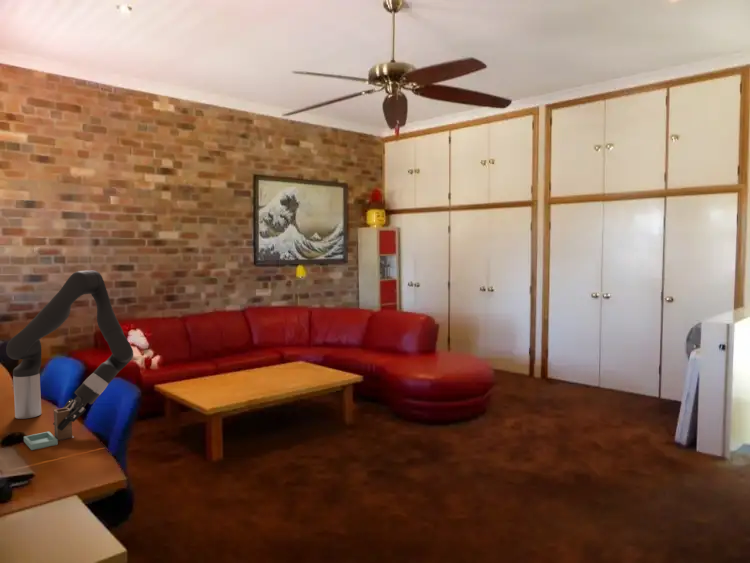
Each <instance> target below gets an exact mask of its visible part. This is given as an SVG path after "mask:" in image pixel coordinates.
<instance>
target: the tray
mask: <svg viewBox="0 0 750 563" xmlns="http://www.w3.org/2000/svg"><path fill="white" fill-rule="evenodd" d="M23 443H25V445H26V446H27V447H28V449H29V450H30V451H36V450H39V449H44V448H48V447H54V446H58V443H59V441H58V439H56V438H55V435H53V433H51V432H50V431H49V430H48V431H44V432H40V433H33V434H29V435H24V436H23Z"/></svg>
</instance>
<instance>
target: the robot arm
mask: <svg viewBox="0 0 750 563" xmlns="http://www.w3.org/2000/svg"><path fill="white" fill-rule="evenodd" d="M84 295H90V296H92V298H93V299H94V301H95V304H96V321H97V322H96V323H97V327H98V329H99V331H100V332H101V334H102V337H103V338H104V340H105V342H107V345H108V347H109V349H110V352H111V355H110V356H109V357H108V358H107V359H106V360H105V361H104V362H101V363H100V364H99V366H98V367H97V368H96V369H95V370H94V371H93V372H92V373H91V374H90V375H89V376H87V377H86V379H85V380H84V381H83V382H82V384H80V386H78V388H77V389H76V390H75V391H74V394H75V395H76V396H75V397H74V399H72V398H70V399H68V401H67V402H66V403H65V405H64V406H63V407H62V408H69V411H68V414H67V416H66V417H65V419H63V420H62V422H61V423H60V424H59V425H58V426H57V428H58V429H59V430H61V431H62V430H63V429H64V428H65V427H66V426H67V425H68V424H69V422H72V423H74V422H75V421H77V419H79V417H80V416H82V415H83V414H84V413H85V412H86V411H87V409H86V408H85V407H86V405H87V404H89V405H92V404H94V402H95V401H96V400H97V399H98V398H99V397H100V396H101V394H102V393H104V391H105V390H106V389H107V387H108V386H109V385H110V383H111V382H112V381H113V380H114V379H115V377H116V376H117V375H118V374H119V373H120V372H121V371H122V370H124V368H125V367H126V366H127V365H128V364H129V363H130V362H131V361H132V359H133V357H134V350H133V348H132V345H131V344H130V342H129V340H128V339H127V337H126V335H125V334H124V330H123V328H122V326H121V324H120V323H119V320H118V318H117V316H116V314H115V312H114V309H113V307H112V303H111V300H110V297H109V296H110V295H109V294H108V290H107V287H106V283H105V281H104V278H103V276H102V275H101V273H100V272H99V271H97V270H92V269H91V270H90V269H88V270H77V271H75V272H73V273H71V275H70V276H69V277H68V278H67V279H66V281H65V283H64V284H63V286H62V287H61V288H60V289H59V291H58V292H57V293H56V294H55V295H54V296H53V297H52V298H51V299H50V301H49V302H48V303H47V304H45V305H44V307H43V308H42V309H41V310H40V311H39V312H38V313H37V314H36V316H34V317H33V318H32V320H30V322H29V323H28V324H27V325H26V326H25V327H24V328H23V329H21V331H19V332H18V333H16V334H15V335H14V336H13V337H12V338H11V339H9V341H8V342H7V345H6V348H5V349H6V351H5V352H6V356H7V357H8V358H10V359H11V360H16V361H18V360H21V361H20V363H19V364H18V365H17V366H16V367H14V368H13V370H12V377H13V378H12V379H13V380H12V382H13V395H14V396H13V398H14V417H15V419H17V420H18V419H19V420H20V419H21V420H22V419H31V418H36V417H38V416H40V415H42V399H41V397H42V396H41V395H42V394H41V393H42V392H41V377H40V376H41V375H40V374H41V373H40V369H41V367H42V342H41V340H40V339H42V338H44V337H46V336H48V335H50V334H52V333H53V332H54V331H56V330H58V329H59V327H61V326H62V325H63V324H64V323H65V322H66V321H67V320H68V318H69V317H70V314H71V306H72V305H73V303H75V301H76V300H78V299H79V298H80V297H81V296H84ZM52 425H53V426H54V422H52Z"/></svg>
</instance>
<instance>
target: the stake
mask: <svg viewBox="0 0 750 563" xmlns="http://www.w3.org/2000/svg"><path fill="white" fill-rule="evenodd" d="M73 438H74V439H75V436H74V435H72V437H70V438H66V439H61V440H58V442H60V441H65V440H69V439H73Z"/></svg>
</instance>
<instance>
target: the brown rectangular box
mask: <svg viewBox="0 0 750 563" xmlns="http://www.w3.org/2000/svg"><path fill="white" fill-rule="evenodd" d="M68 411H69V408H63V407H62V408H57V409H53V420H54V421H53V423H54V425H53V427H54V429H53V430H54V437H55V438H56V439H58V440H60V441H62V440H61V439H65V440H67V439H66V438H69V439H71V438H70V437H72V436H73V422H69V424H68V425H67V426H66V427H65V428H64V429H63V430H62V431H61V430H59V429H58V428H57V426H58V425H59V424H60V423H61V422H62V420H63V419H65V417H66V416H67V414H68Z"/></svg>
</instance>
